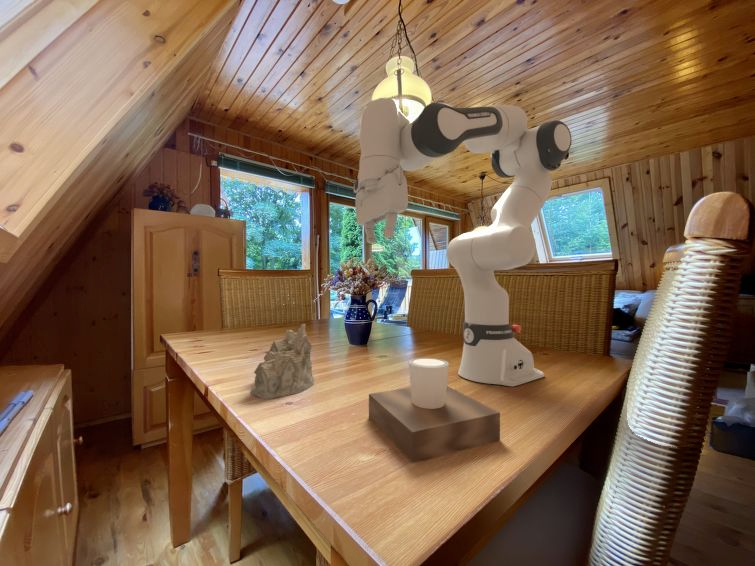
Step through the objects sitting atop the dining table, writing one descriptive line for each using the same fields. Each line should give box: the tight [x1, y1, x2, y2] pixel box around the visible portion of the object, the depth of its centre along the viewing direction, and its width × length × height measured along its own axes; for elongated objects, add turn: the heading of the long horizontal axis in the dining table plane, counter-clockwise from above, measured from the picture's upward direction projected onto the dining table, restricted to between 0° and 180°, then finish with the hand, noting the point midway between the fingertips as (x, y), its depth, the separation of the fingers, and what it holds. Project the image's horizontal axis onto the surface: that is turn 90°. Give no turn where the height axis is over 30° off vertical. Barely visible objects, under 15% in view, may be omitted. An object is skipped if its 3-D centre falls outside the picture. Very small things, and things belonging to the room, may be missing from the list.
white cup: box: [408, 357, 450, 409], centre depth 54 cm, size 7×7×7 cm
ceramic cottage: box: [250, 323, 315, 400], centre depth 76 cm, size 16×16×15 cm
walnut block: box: [368, 385, 501, 464], centre depth 54 cm, size 16×16×5 cm
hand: (379, 240), depth 69 cm, fingers open, 8 cm apart
